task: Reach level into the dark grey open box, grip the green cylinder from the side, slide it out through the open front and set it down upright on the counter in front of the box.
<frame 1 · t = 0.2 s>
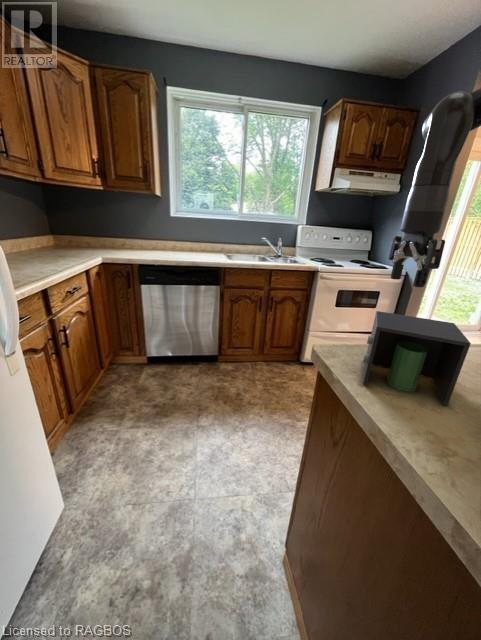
hand: (406, 282, 65), 23 cm above the countertop, tool pointing down, fingers open, 8 cm apart
dark grey open box: (400, 381, 66), on the countertop
green cylinder: (401, 383, 65), resting in dark grey open box
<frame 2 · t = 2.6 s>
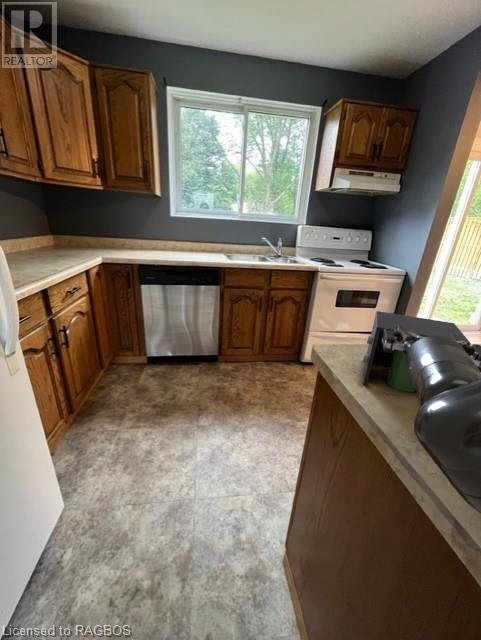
hand: (424, 334, 51), 16 cm above the countertop, tool horizontal, fingers open, 8 cm apart
nothing on the countertop moved.
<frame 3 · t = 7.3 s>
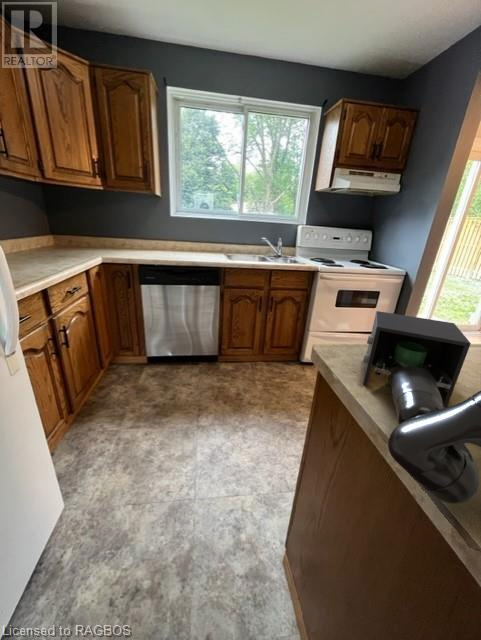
hand: (406, 357, 65), 6 cm above the countertop, tool horizontal, fingers closed on green cylinder, 6 cm apart
green cylinder: (401, 383, 65), resting in dark grey open box, touching gripper
everything else where it was.
when the fingers open (6 cm above the countertop, at t = 12.0 s): green cylinder stays where it is, on the countertop.
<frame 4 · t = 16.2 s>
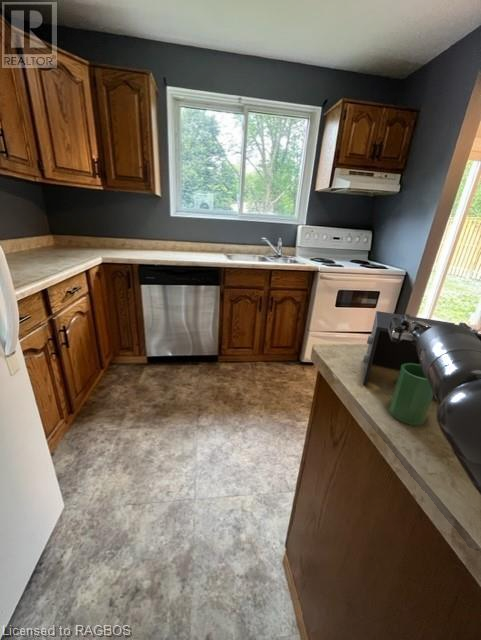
hand: (431, 323, 50), 19 cm above the countertop, tool horizontal, fingers open, 8 cm apart
green cylinder: (406, 414, 54), on the countertop
everything else where it was.
at the end: green cylinder inside the target area (0.1 cm from its centre), on the countertop; green cylinder tilted 0°; the gripper is holding nothing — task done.
